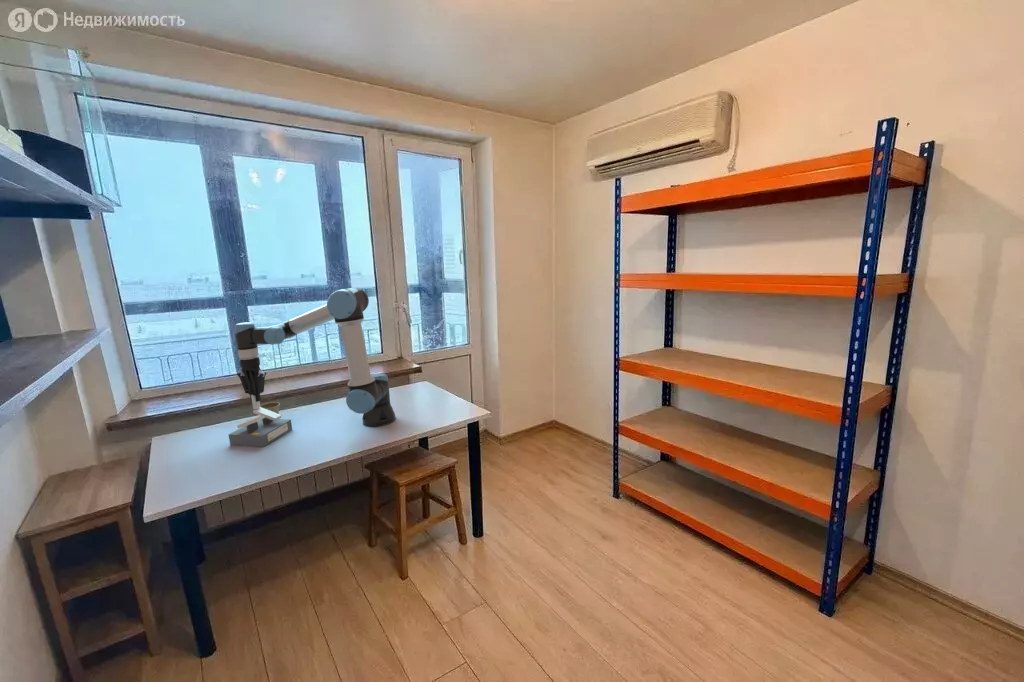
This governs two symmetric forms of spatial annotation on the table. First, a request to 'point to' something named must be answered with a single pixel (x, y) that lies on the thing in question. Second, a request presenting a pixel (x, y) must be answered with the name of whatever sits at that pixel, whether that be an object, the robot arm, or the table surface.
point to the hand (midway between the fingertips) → (257, 407)
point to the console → (260, 433)
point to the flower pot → (272, 406)
